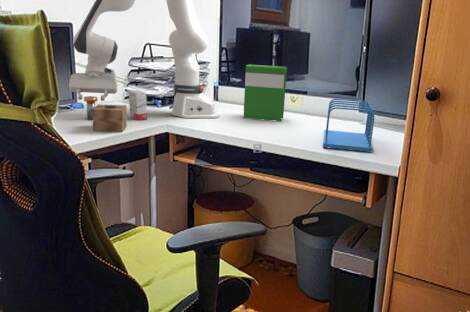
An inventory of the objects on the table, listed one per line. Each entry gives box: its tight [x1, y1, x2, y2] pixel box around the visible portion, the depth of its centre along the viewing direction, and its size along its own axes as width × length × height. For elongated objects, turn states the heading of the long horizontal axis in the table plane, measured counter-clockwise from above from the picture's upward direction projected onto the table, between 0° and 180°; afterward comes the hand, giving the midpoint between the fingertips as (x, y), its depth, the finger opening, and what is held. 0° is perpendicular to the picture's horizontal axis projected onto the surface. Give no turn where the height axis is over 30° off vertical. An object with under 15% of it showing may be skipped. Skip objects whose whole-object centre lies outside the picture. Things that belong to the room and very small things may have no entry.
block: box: [92, 104, 128, 133], centre depth 185 cm, size 11×11×8 cm
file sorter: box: [322, 98, 375, 152], centre depth 179 cm, size 25×17×15 cm
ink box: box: [128, 89, 148, 121], centre depth 206 cm, size 9×5×12 cm, turn 33°
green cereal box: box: [242, 64, 288, 122], centre depth 218 cm, size 18×7×24 cm, turn 77°
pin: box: [83, 95, 98, 121], centre depth 200 cm, size 5×5×9 cm
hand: (91, 99), depth 202 cm, fingers open, 8 cm apart
